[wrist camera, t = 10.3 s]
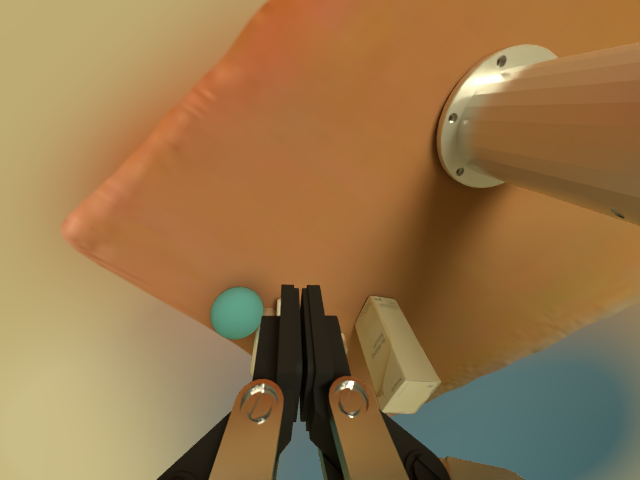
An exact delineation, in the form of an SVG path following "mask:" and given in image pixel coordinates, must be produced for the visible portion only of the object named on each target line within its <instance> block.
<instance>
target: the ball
mask: <svg viewBox="0 0 640 480" xmlns="http://www.w3.org/2000/svg"><path fill="white" fill-rule="evenodd" d="M263 313H264V308H263V303H262V301H261V299H260V297H259V296H258V295H257V293H255V292H254V291H253V290H251V289H249V288H245V287H234V288H230V289H228V290H226V291H224V292H223V293H221V294H220V295H219V296H218V297H217V298H216V300H215V301H214V303H213V305H212V308H211V314H210V317H211V323H212V326H213V327H214V329H215V330H216V332H217V333H218V334H220V335H221V336H223V337H225V338H228V339H241V338H245V337H247V336H249V335H250V334H252V333H253V332H254V331H255V330H256V329H257V328H258V327H259V325H260V323H261V317H262V316H263Z"/></svg>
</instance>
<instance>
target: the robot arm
mask: <svg viewBox="0 0 640 480" xmlns="http://www.w3.org/2000/svg"><path fill="white" fill-rule="evenodd" d="M449 116H450V119H449ZM437 152H438V157H439V160H440V162H441V165H442V167H443V168H444V170H445V171H446V173H447V174H448V175H449V176H450V177H451V178H453V179H454V180H455V181H457V182H459V183H462V184H464V185H467V186H470V187H475V188H487V187H493V186H497V185H500V184H503V183H505V182H507V183H510V184H513V185H516V186H519V187H522V188H525V189H529V190H532V191H535V192H538V193H541V194H544V195H547V196H550V197H553V198H556V199H559V200H562V201H565V202H568V203H571V204H574V205H577V206H580V207H584V208H587V209H590V210H593V211H596V212H599V213H602V214H605V215H608V216H611V217H614V218H617V219H620V220H623V221H626V222H629V223H632V224H636V225H639V226H640V42H637V43H632V44H627V45H622V46H617V47H612V48H607V49H602V50H597V51H592V52H587V53H582V54H577V55H572V56H567V57H562V58H558V57H557V56H556V55H555V54H554V53H552V52H551V51H550V50H548V49H547V48H544V47H541V46H538V45H528V44H523V45H518V46H513V47H509V48H506V49H503V50H500V51H497V52H495V53H493V54H491V55H489V56H488V57H486V58H484V59H483V60H481V61H480V62H479V63H477V64H476V65H475V66H474V67H472V68H471V69H470V70H469V71H468V72H467V73H466V74H465V76H464V77H463V78H462V79H461V80H460V81H459V83H458V84H457V85H456V87H455V88H454V90H453V91H452V92H451V94H450V96H449V98H448V100H447V102H446V104H445V106H444V108H443V111H442V114H441V117H440V120H439V124H438V130H437ZM299 396H300V420H301V422H304V421H306V431H309V433H310V434H309V435H310V440H311V441H312V442H313V443H314V444H315V445H316V446H317V447H318V453H319V458H320V463H321V468H322V473H323V478H324V480H524V479H523V478H522V477H520V476H519V475H517V474H516V473H515V472H512V471H510V470H508V469H504V468H499V467H494V466H490V465H485V464H481V463H476V462H471V461H467V460H462V459H457V458H453V457H448V456H447V457H446V458H445V459H444V458H439V457H437V456H436V455H435V454H434V453H432V451H430V450H429V449H428V448H427V447H425V446H424V445H423V444H422V443H420V442H419V441H418V440H417V439H415V438H414V437H413V436H412V435H411V434H409V433H408V432H407V431H406V430H404V429H403V428H402V427H401V426H399V425H398V424H397V423H396V422H394V421H393V420H392V419H391V418H389V417H388V416H387V415H386V414H385V413H383V412H382V411H381V410H380V409H378V406H377V404H376V402H375V399H374V397H373V395H372V393H371V391H370V389H369V388H368V386H367V385H366V384H365V383H364V382H363V381H361V380H360V379H358V378H356V377H352V376H351V374H350V370H349V365H348V361H347V357H346V352H345V348H344V344H343V339H342V335H341V330H340V326H339V322H338V318H337V316H325V313H324V308H323V302H322V296H321V290H320V286H319V285H307V288H302V295H301V305H300V304H299V288H294V285H282V287H281V307H280V316H262V317H261V323H260V330H259V338H258V345H257V352H256V359H255V366H254V373H253V380H252V382H250V383H249V384H247V385H246V386H244V387H243V389H242V390H241V391H240V392H239V394H238V396H237V398H236V400H235V403H234V406H233V409H232V411H231V412H230V413H229V414H228V415H227V416H225V417H224V418H223V419H222V420H221V421H220V422H219V423H218V424H217V425H216V426H215V427H213V428H212V429H211V430H210V431H209V432H208V433H207V434H206V435H205V436H204V437H202V438H201V439H200V440H199V441H198V442H197V443H196V444H195V445H194V446H193V447H192V448H190V450H189V451H187V452H186V453H185V454H184V455H183V456H182V457H181V458H180V459H178V460H177V461H176V462H175V463H174V464H173V465H172V466H171V467H170V468H169V469H168V470H166V471H165V472H164V473H163V474H162V475H161V476H160V477H159V478H158V479H157V480H276V477H277V470H278V463H279V457H280V454H281V452H282V451H283V450H284V448H285V447H286V446H287V445H288V443H289V442H290V441H291V435H292V426H293V422H296V419H297V411H298V403H299Z"/></svg>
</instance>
